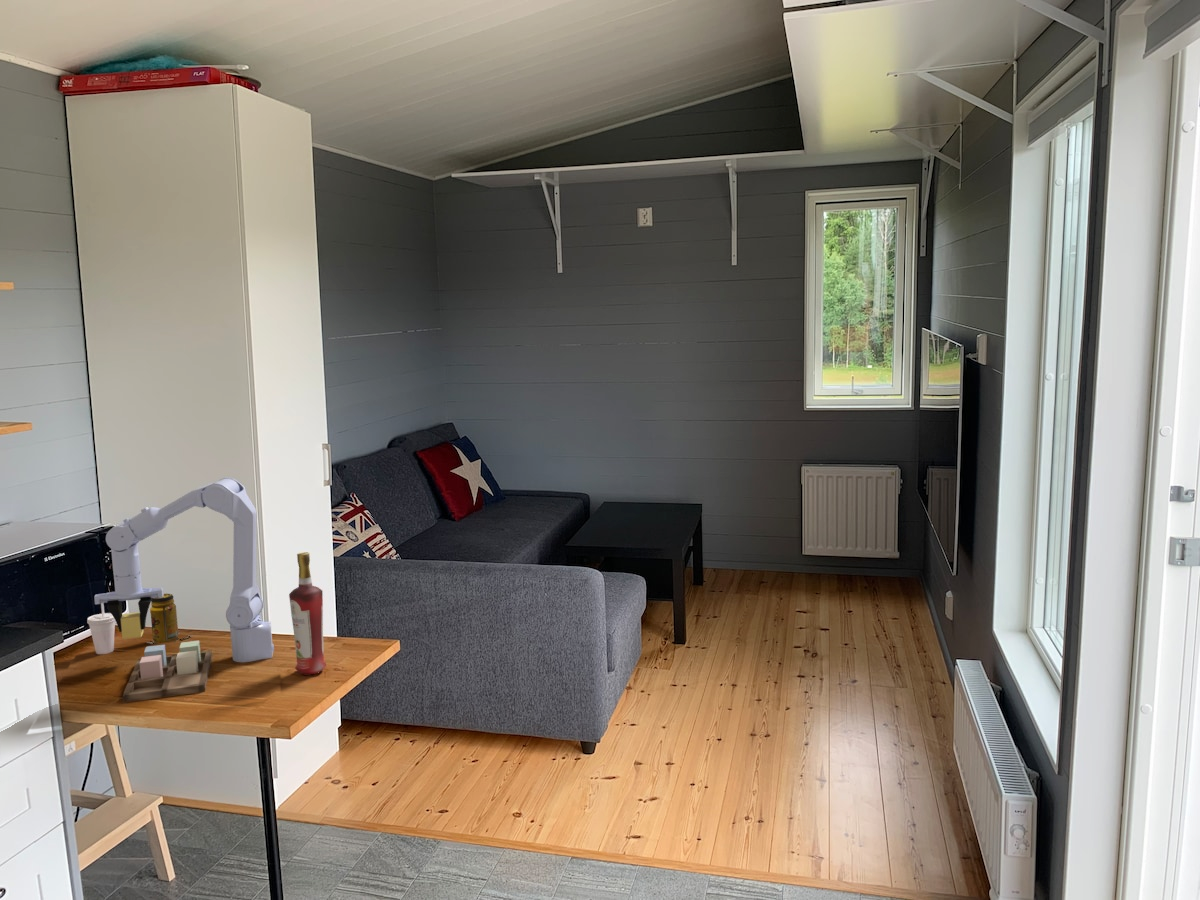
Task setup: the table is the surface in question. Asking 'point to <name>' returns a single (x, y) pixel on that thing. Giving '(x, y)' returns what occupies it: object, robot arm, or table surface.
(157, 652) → the blue block
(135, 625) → the mustard block
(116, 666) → the table surface
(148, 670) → the rose block
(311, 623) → the liquor
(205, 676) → the block tray
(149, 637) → the table surface
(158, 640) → the condiment
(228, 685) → the table surface
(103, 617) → the smoothie
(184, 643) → the sage block
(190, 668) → the cream block
